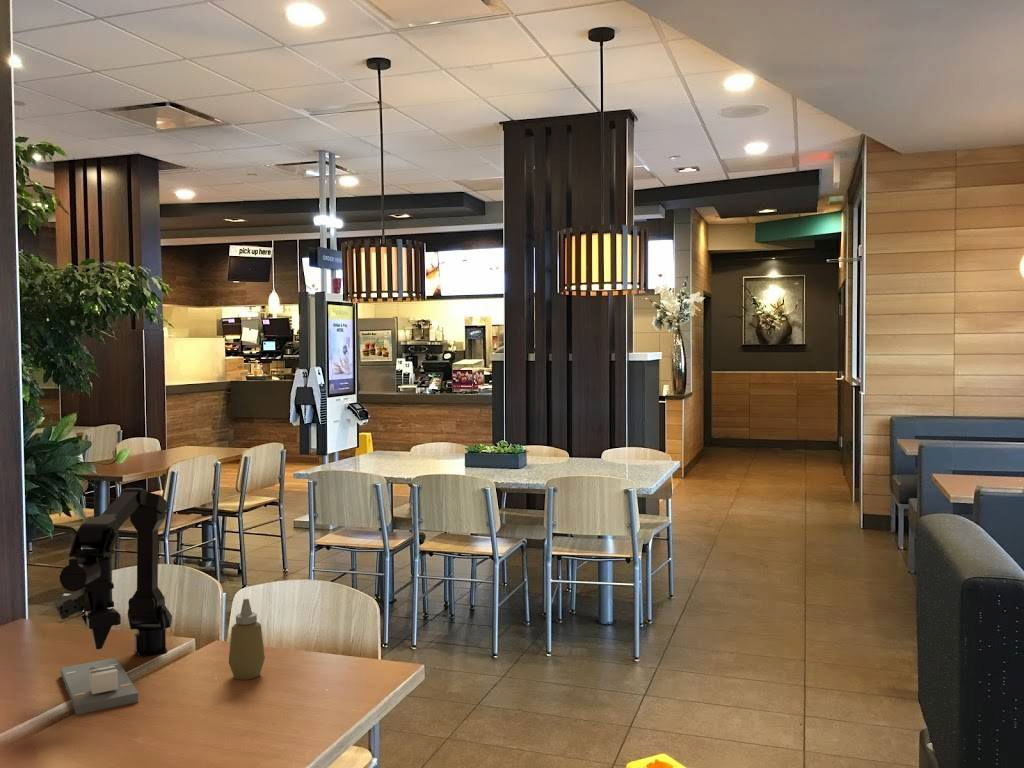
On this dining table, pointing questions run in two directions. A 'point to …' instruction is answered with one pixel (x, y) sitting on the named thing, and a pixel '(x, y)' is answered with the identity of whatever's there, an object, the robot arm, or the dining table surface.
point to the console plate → (88, 702)
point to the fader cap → (103, 679)
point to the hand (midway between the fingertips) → (98, 648)
